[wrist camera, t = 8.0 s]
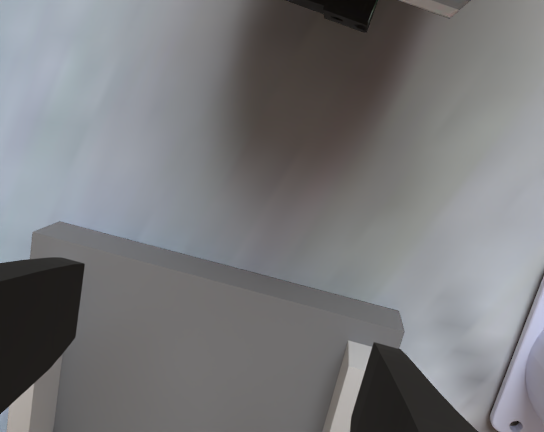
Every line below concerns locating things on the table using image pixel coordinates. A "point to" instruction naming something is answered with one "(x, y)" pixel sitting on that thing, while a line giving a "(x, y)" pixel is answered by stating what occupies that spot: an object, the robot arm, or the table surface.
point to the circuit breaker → (361, 4)
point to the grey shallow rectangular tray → (198, 346)
